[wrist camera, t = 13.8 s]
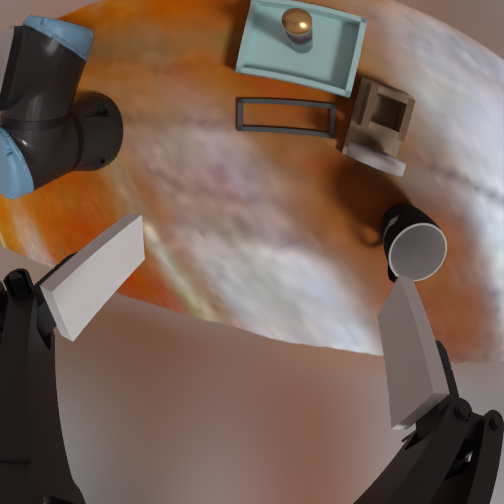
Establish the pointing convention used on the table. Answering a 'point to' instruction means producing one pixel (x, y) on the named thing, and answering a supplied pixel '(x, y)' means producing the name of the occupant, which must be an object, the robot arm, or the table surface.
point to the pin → (298, 29)
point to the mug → (412, 243)
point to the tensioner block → (378, 126)
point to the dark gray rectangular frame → (286, 130)
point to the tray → (302, 64)
